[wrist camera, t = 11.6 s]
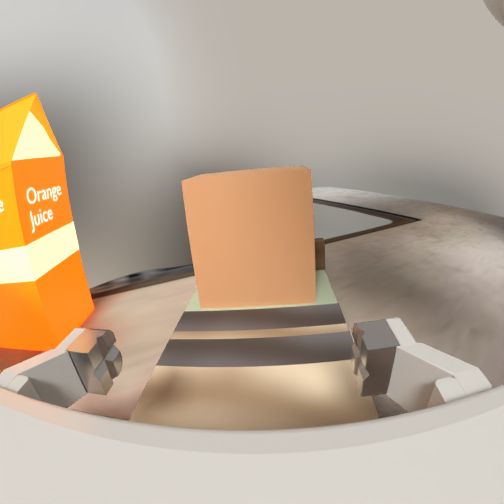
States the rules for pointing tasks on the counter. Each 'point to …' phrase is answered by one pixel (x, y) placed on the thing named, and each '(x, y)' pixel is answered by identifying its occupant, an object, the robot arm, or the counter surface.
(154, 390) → the board
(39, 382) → the robot arm
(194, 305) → the pad
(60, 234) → the orange juice
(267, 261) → the block
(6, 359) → the counter surface
